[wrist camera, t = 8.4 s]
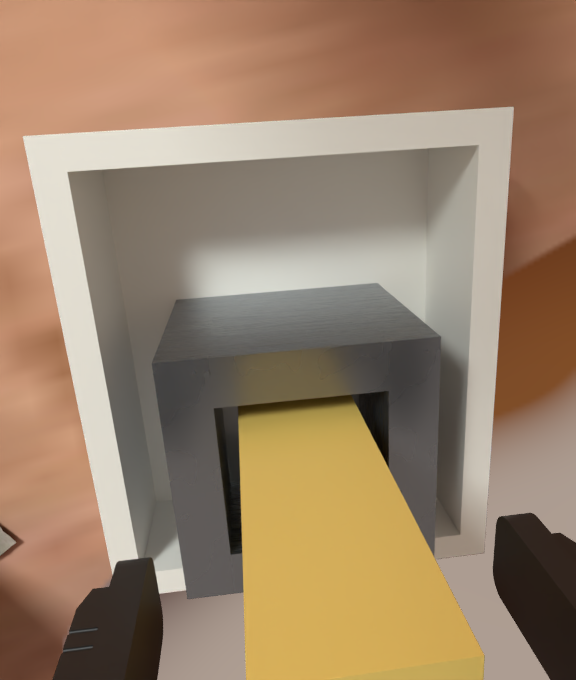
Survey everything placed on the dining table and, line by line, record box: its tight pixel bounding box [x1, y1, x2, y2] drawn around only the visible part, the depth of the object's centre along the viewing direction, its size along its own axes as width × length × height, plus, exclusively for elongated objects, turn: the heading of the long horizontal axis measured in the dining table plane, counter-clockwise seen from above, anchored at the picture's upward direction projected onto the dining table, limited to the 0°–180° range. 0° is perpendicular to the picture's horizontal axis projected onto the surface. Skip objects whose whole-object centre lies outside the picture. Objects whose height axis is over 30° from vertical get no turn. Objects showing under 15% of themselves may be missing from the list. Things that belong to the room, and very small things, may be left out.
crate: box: [23, 107, 514, 593], centre depth 20 cm, size 16×14×5 cm
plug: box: [238, 395, 484, 680], centre depth 14 cm, size 4×4×12 cm
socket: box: [152, 283, 441, 599], centre depth 19 cm, size 8×8×7 cm
